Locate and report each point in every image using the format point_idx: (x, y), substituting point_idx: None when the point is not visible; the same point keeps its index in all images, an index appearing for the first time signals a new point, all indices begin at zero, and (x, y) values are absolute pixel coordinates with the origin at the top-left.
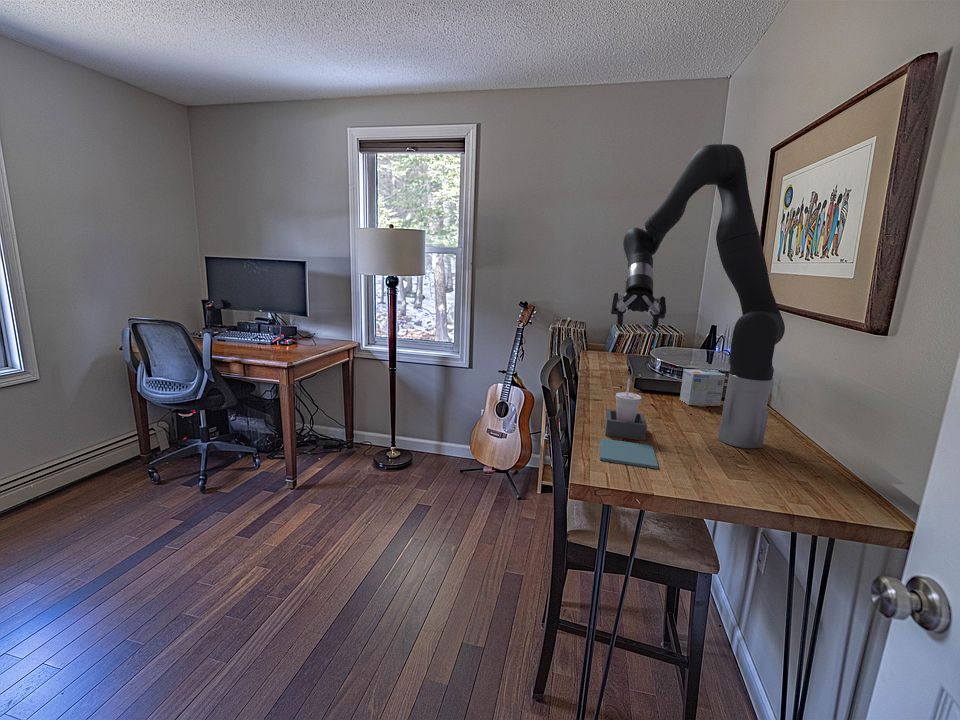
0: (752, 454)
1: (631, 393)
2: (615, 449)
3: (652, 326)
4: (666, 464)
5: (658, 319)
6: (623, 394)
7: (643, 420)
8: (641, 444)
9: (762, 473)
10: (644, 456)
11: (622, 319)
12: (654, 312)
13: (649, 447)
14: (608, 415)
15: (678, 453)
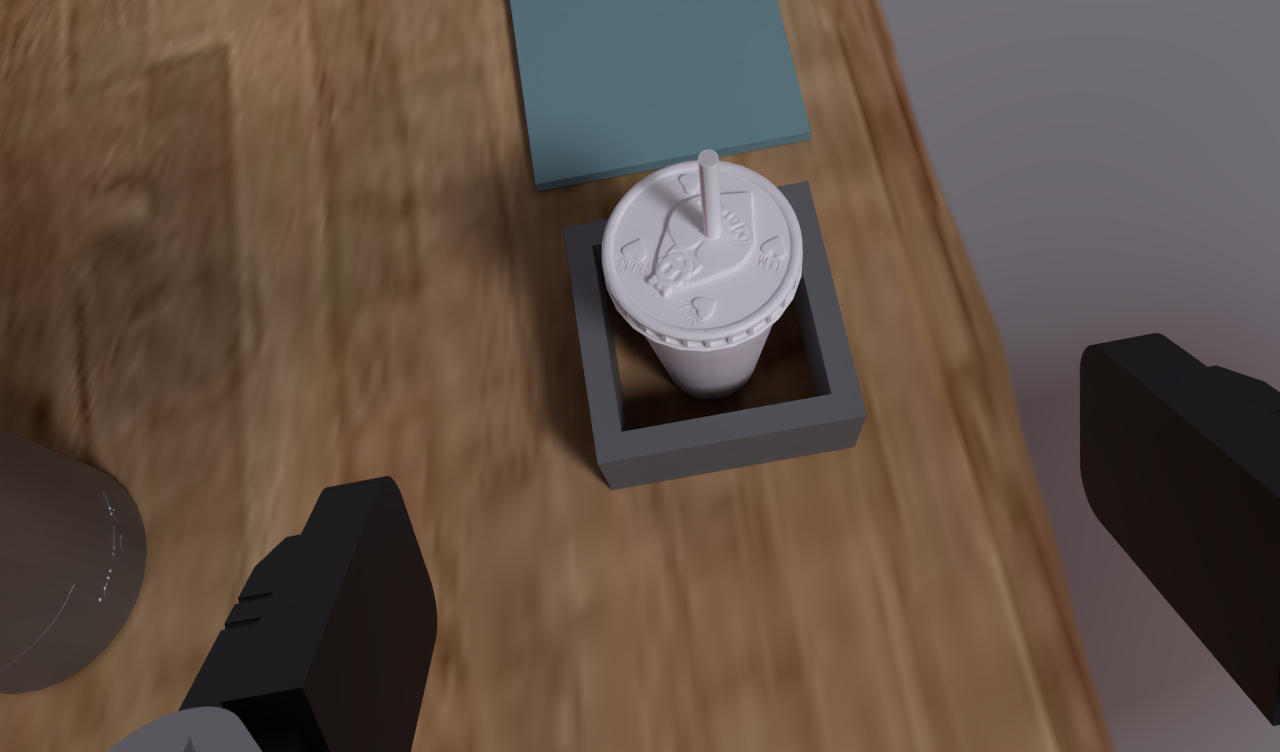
0: (22, 400)
1: (688, 328)
2: (708, 34)
3: (411, 579)
4: (471, 40)
5: (209, 656)
6: (741, 235)
7: (589, 309)
8: (590, 166)
9: (60, 174)
10: (567, 31)
11: (1140, 367)
12: (243, 746)
13: (549, 151)
14: (820, 275)
15: (408, 196)
